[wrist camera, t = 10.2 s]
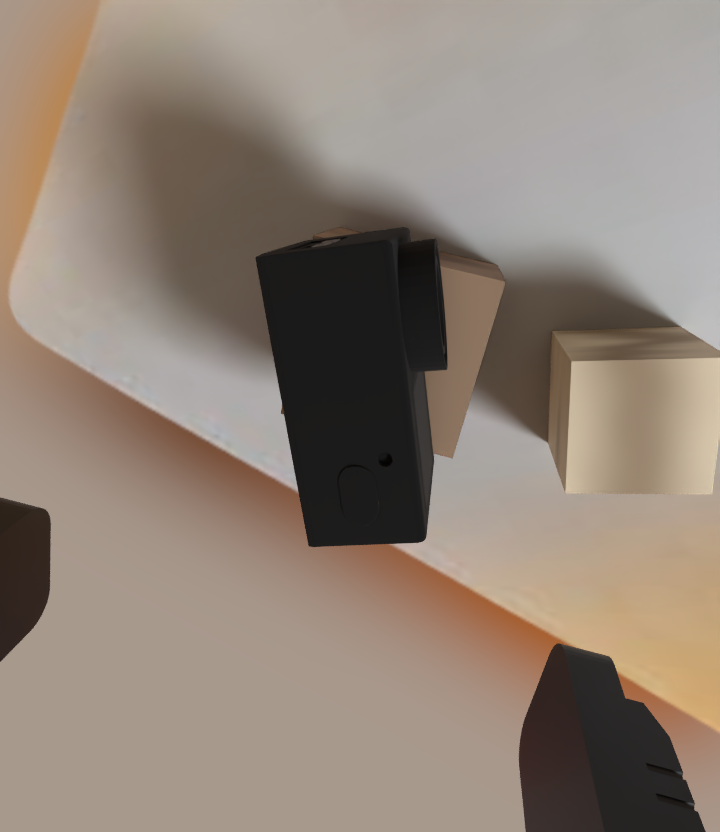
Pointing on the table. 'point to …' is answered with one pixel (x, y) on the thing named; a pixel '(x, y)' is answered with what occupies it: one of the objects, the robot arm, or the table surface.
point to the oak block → (634, 411)
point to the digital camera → (358, 379)
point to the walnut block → (457, 340)
